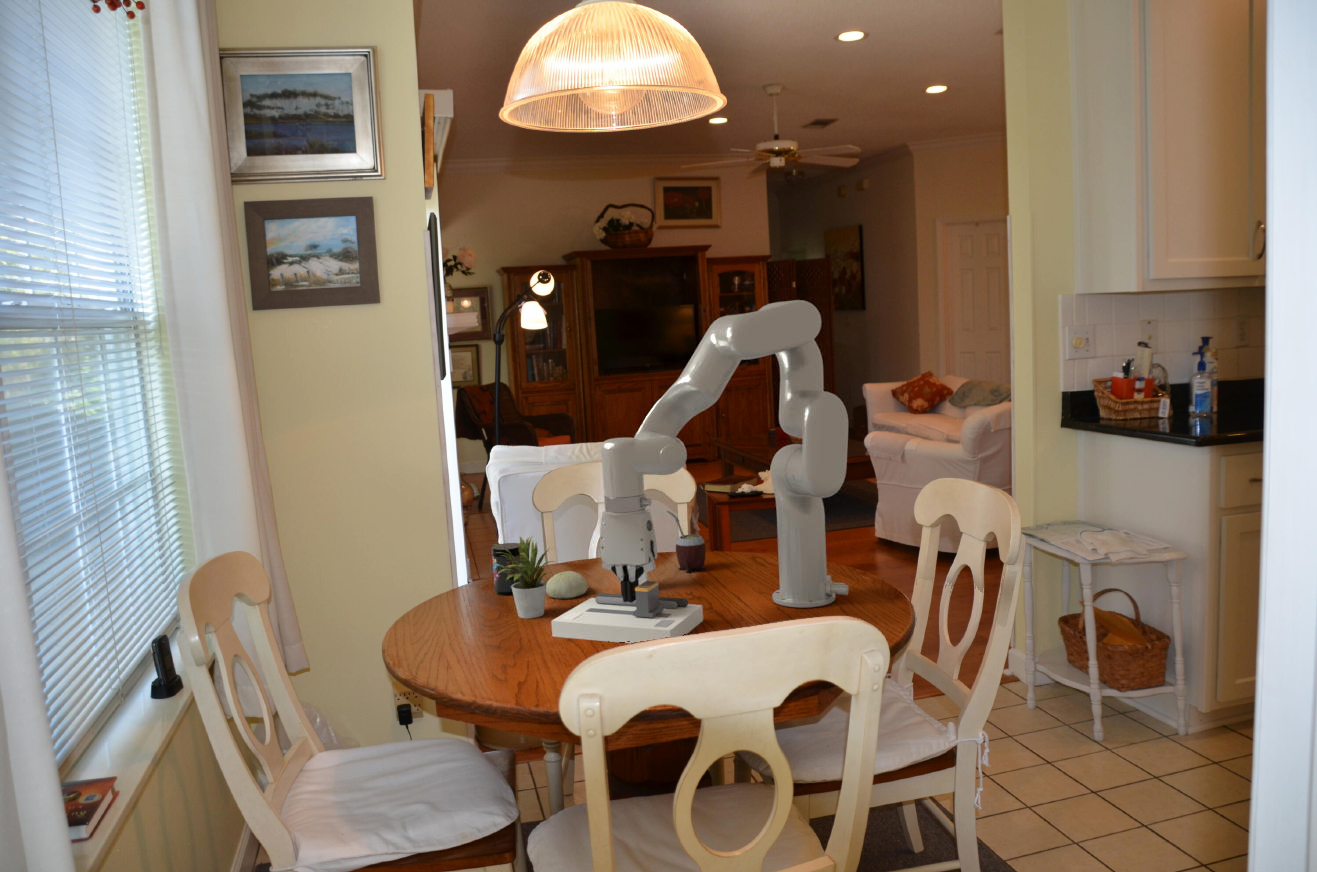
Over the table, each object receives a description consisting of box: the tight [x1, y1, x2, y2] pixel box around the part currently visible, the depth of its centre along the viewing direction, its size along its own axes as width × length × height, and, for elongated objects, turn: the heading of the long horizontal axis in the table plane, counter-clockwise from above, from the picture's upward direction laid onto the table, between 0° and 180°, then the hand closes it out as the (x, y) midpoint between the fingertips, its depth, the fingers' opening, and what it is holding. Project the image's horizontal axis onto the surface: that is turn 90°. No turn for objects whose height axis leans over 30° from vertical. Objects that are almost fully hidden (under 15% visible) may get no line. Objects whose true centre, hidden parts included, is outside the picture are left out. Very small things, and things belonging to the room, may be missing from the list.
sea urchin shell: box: [546, 570, 588, 600], centre depth 203 cm, size 9×8×8 cm
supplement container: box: [491, 542, 523, 596], centre depth 207 cm, size 7×7×10 cm
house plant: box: [492, 536, 556, 619], centre depth 189 cm, size 14×14×16 cm
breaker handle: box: [633, 580, 664, 618], centre depth 174 cm, size 4×5×5 cm
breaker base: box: [550, 592, 704, 644], centre depth 176 cm, size 24×16×5 cm, turn 66°
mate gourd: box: [666, 510, 707, 574], centre depth 217 cm, size 8×8×15 cm
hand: (630, 600), depth 175 cm, fingers closed
